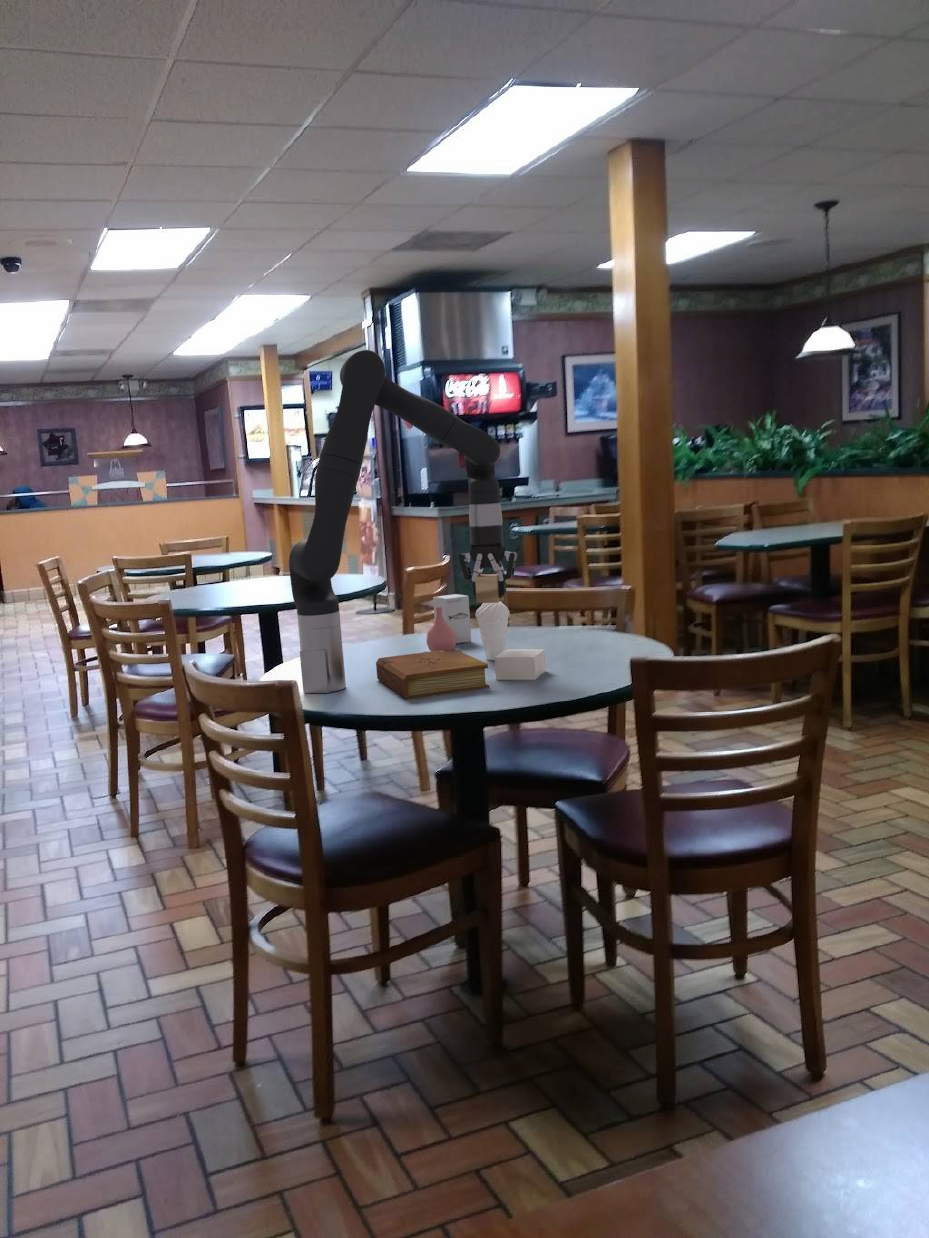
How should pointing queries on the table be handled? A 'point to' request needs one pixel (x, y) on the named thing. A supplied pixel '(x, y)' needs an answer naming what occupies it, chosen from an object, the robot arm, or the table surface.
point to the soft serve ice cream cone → (493, 627)
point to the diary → (431, 673)
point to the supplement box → (455, 614)
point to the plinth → (520, 664)
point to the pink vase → (440, 634)
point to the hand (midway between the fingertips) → (490, 597)
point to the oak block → (487, 589)
